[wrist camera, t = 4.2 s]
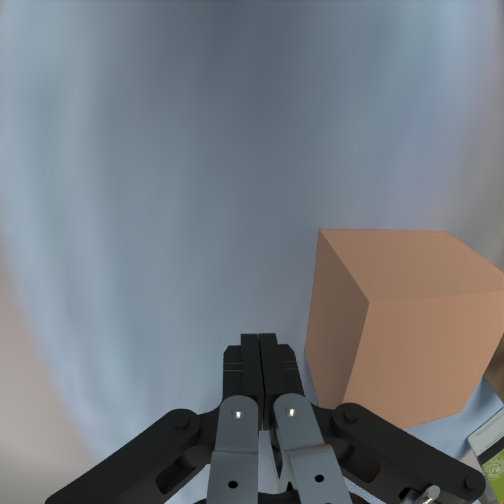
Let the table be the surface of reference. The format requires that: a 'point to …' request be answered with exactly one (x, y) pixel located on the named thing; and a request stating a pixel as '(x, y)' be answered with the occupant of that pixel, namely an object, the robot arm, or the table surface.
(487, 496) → the coffeepot
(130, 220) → the table surface
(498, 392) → the walnut board
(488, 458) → the tea box
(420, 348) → the terracotta block
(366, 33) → the table surface
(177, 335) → the table surface
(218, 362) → the table surface
